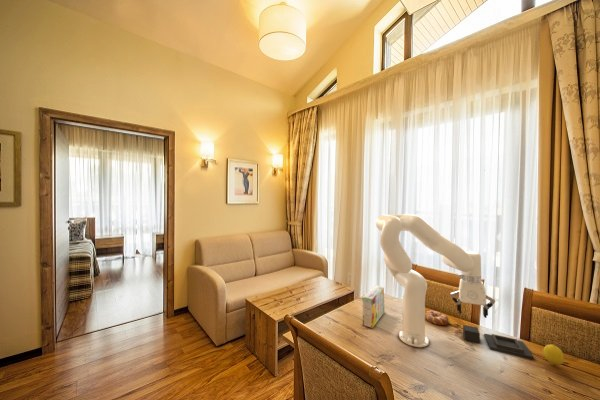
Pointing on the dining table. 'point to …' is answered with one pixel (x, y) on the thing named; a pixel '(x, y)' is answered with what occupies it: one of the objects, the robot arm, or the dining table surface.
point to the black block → (471, 333)
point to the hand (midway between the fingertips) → (472, 314)
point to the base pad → (508, 345)
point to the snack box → (373, 306)
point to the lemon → (553, 354)
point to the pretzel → (436, 318)
